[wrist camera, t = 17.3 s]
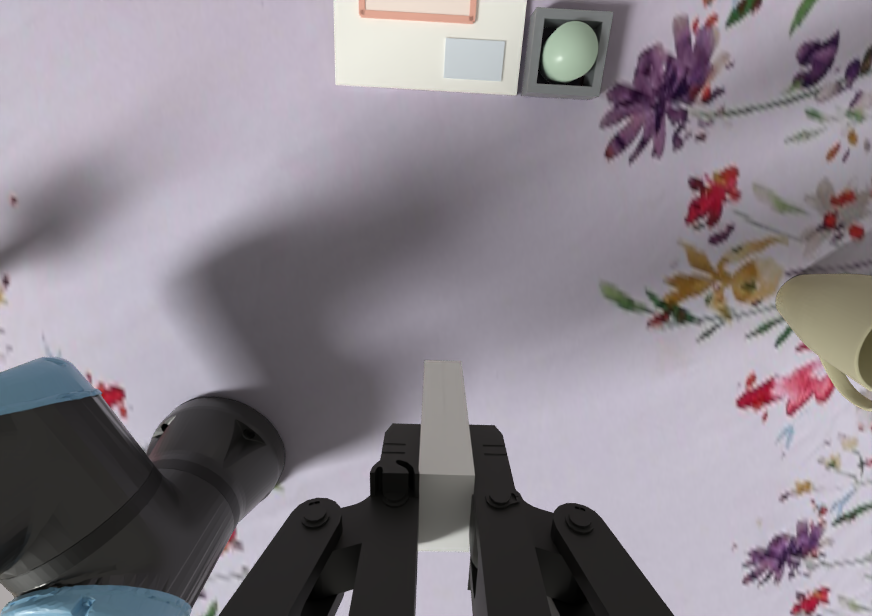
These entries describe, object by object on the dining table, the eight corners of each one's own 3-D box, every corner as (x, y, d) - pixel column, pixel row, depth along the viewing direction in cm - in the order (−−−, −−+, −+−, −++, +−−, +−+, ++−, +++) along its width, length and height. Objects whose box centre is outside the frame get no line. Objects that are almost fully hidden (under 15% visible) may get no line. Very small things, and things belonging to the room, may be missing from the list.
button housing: (521, 96, 39) (526, 92, 36) (530, 17, 37) (536, 7, 34) (588, 100, 39) (599, 96, 36) (600, 21, 37) (613, 11, 34)
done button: (534, 83, 38) (543, 77, 35) (541, 30, 37) (550, 19, 33) (580, 86, 38) (593, 80, 35) (588, 33, 37) (602, 22, 33)
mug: (728, 310, 46) (820, 364, 34) (810, 235, 43) (940, 268, 31) (794, 367, 48) (901, 436, 37) (876, 300, 45) (1020, 353, 34)
